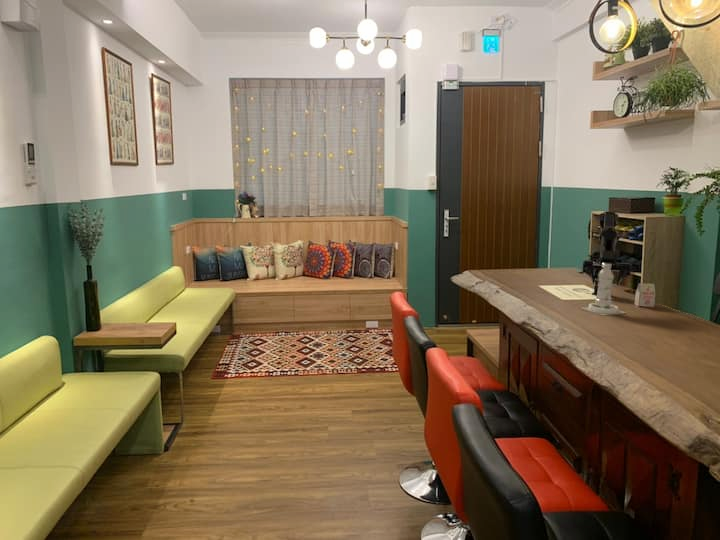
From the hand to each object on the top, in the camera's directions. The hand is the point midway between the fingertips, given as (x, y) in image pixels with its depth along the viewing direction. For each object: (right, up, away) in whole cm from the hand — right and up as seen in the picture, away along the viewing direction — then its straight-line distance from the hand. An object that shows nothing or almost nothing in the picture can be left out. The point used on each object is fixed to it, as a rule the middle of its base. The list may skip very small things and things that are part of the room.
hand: (605, 284), depth 239 cm
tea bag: (+22, -10, +13) cm, 28 cm away
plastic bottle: (0, -11, +3) cm, 11 cm away
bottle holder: (0, -11, +3) cm, 11 cm away
